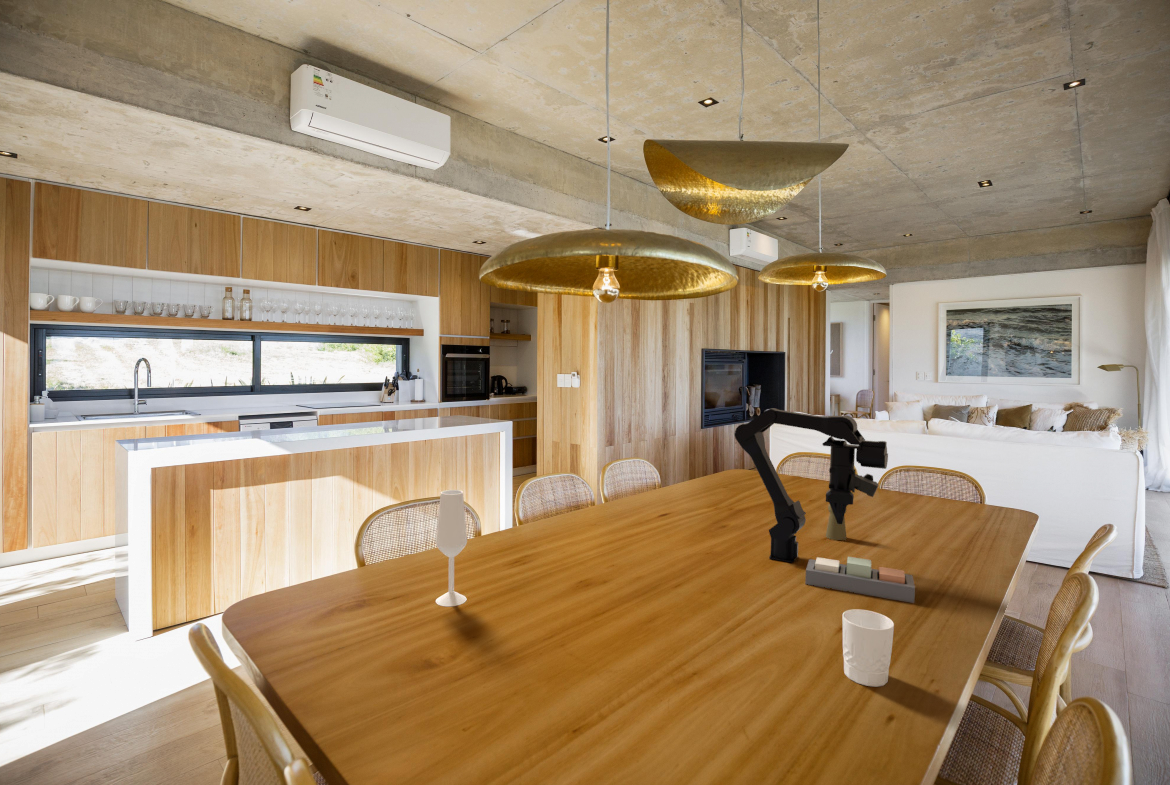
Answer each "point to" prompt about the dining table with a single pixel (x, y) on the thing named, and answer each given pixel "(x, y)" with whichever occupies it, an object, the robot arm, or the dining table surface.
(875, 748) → the dining table surface
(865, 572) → the sage key
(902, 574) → the terracotta key
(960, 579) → the dining table surface
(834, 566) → the cream key
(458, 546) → the champagne flute
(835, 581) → the keypad
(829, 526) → the olive pepper mill
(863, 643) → the white cup
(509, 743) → the dining table surface
